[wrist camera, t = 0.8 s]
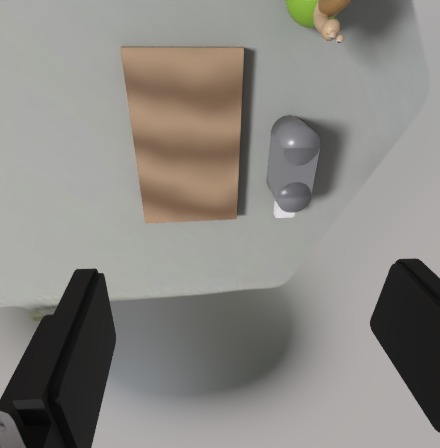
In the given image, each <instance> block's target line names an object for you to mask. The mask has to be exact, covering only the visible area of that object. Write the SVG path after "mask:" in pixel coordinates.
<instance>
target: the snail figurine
mask: <svg viewBox="0 0 440 448" xmlns="http://www.w3.org/2000/svg"><path fill="white" fill-rule="evenodd" d="M351 1H352V0H286V5H287V9H288V11H289V14H290V15H291V17H292V18H293V20H294V21H295V22H297V23H298V24H299V25H301V26H304V27H308V28H316V29H317V30H318V31H319V33H320V34H322V37H323V38H324V39H326V40H327V41H331V40H333V39H336V41H337V42H338V43H342V42H343V41H344V36H343V35H338V34H339V32H340V23H339V21H338V20H337V19H334V18H335V17H336V16H337V15H338V14H339V13H340V12H341V11H343V10H344V9H345V8H346V7H347V6H348V5H349V4H350V2H351ZM336 37H337V38H336Z"/></svg>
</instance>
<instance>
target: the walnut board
mask: <svg viewBox="0 0 440 448" xmlns="http://www.w3.org/2000/svg"><path fill="white" fill-rule="evenodd" d="M121 55H122V62H123V69H124V76H125V83H126V90H127V97H128V104H129V111H130V118H131V126H132V133H133V140H134V147H135V154H136V161H137V168H138V175H139V182H140V189H141V196H142V203H143V210H144V217H145V223H165V222H186V221H207V220H227V219H237V199H238V176H239V153H240V130H241V107H242V84H243V61H244V48H243V47H121Z"/></svg>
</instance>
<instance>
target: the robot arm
mask: <svg viewBox="0 0 440 448" xmlns="http://www.w3.org/2000/svg"><path fill="white" fill-rule="evenodd" d="M370 327H371V330H372V332H373V333H374V335H375V336H376V338H377V340H378V341H379V343H380V344H381V346H382V347H383V349H384V350H385V352H386V354H387V355H388V357H389V358H390V360H391V361H392V363H393V364H394V366H395V367H396V369H397V371H398V372H399V374H400V376H401V377H402V379H403V380H404V382H405V383H406V385H407V386H408V388H409V390H410V391H411V393H412V394H413V396H414V397H415V399H416V401H417V402H418V404H419V405H420V407H421V408H422V410H423V412H424V413H425V415H426V416H427V418H428V419H429V421H430V423H431V424H432V426H433V427H434V428H435V430H437V431H438V432H440V278H439V277H438V276H437V275H436V274H434V273H433V272H432V271H431V270H430V269H429V268H428V267H427V266H426V265H425V264H424V263H423V262H422V261H420V260H419V259H399V260H397V261H396V263H395V264H393V265H392V266H391V268H390V270H389V273H388V276H387V278H386V281H385V283H384V286H383V289H382V291H381V294H380V297H379V299H378V302H377V304H376V307H375V310H374V312H373V315H372V317H371V320H370ZM115 343H116V333H115V327H114V323H113V317H112V312H111V307H110V302H109V297H108V292H107V287H106V281H105V277H104V274H103V273H98V271H97V269H77V270H75V272H74V273H73V275H72V278H71V280H70V282H69V284H68V286H67V288H66V290H65V292H64V294H63V296H62V298H61V300H60V302H59V304H58V306H57V309H56V311H55V313H54V315H46V316H45V317H43V319H42V320H41V322H40V324H39V326H38V327H37V329H36V331H35V333H34V335H33V337H32V339H31V341H30V343H29V345H28V347H27V349H26V351H25V353H24V355H23V356H22V359H21V360H20V363H19V364H18V366H17V368H16V370H15V372H14V374H13V376H12V378H11V380H10V382H9V383H8V385H7V387H6V389H5V391H4V393H3V395H2V397H1V399H0V448H91V446H92V442H93V437H94V434H95V429H96V425H97V421H98V416H99V412H100V408H101V403H102V399H103V395H104V391H105V386H106V382H107V378H108V374H109V369H110V365H111V360H112V356H113V351H114V348H115Z"/></svg>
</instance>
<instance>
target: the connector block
mask: <svg viewBox="0 0 440 448" xmlns="http://www.w3.org/2000/svg"><path fill="white" fill-rule="evenodd" d="M320 145H321V142H320V138H319V136H318V134H317V133H316V132H315V131H313V130H312V129H311V128H310V127H308V126H307V125H306V124H305V123H303V122H302V121H301V120H300V119H299V118H297V117H295V116H291V115H289V116H284V117H282V118H280V119H279V120H277V121H276V122H275V124H274V125H273V127H272V130H271V139H270V149H269V160H268V170H267V185H268V187H269V189H270V190H271V192H272V194H273V196H274V198H275V206H274V215H275V217H276V218H287V217H294V215H295V212H298V211H300V210H302V209H303V208H305V207H306V206H307V205H308V203H309V201H310V199H311V194H312V189H313V184H314V178H315V173H316V167H317V162H318V157H319V151H320Z"/></svg>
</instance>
